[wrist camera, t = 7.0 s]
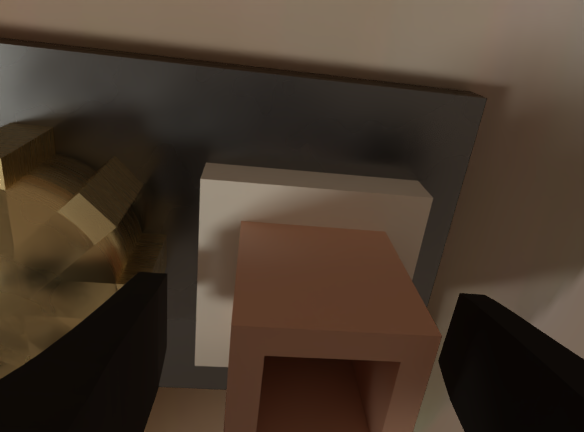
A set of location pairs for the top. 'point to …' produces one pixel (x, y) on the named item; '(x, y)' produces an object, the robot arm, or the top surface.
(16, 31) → the top surface
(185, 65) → the carrier plate
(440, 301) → the top surface
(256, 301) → the square sleeve on tile
